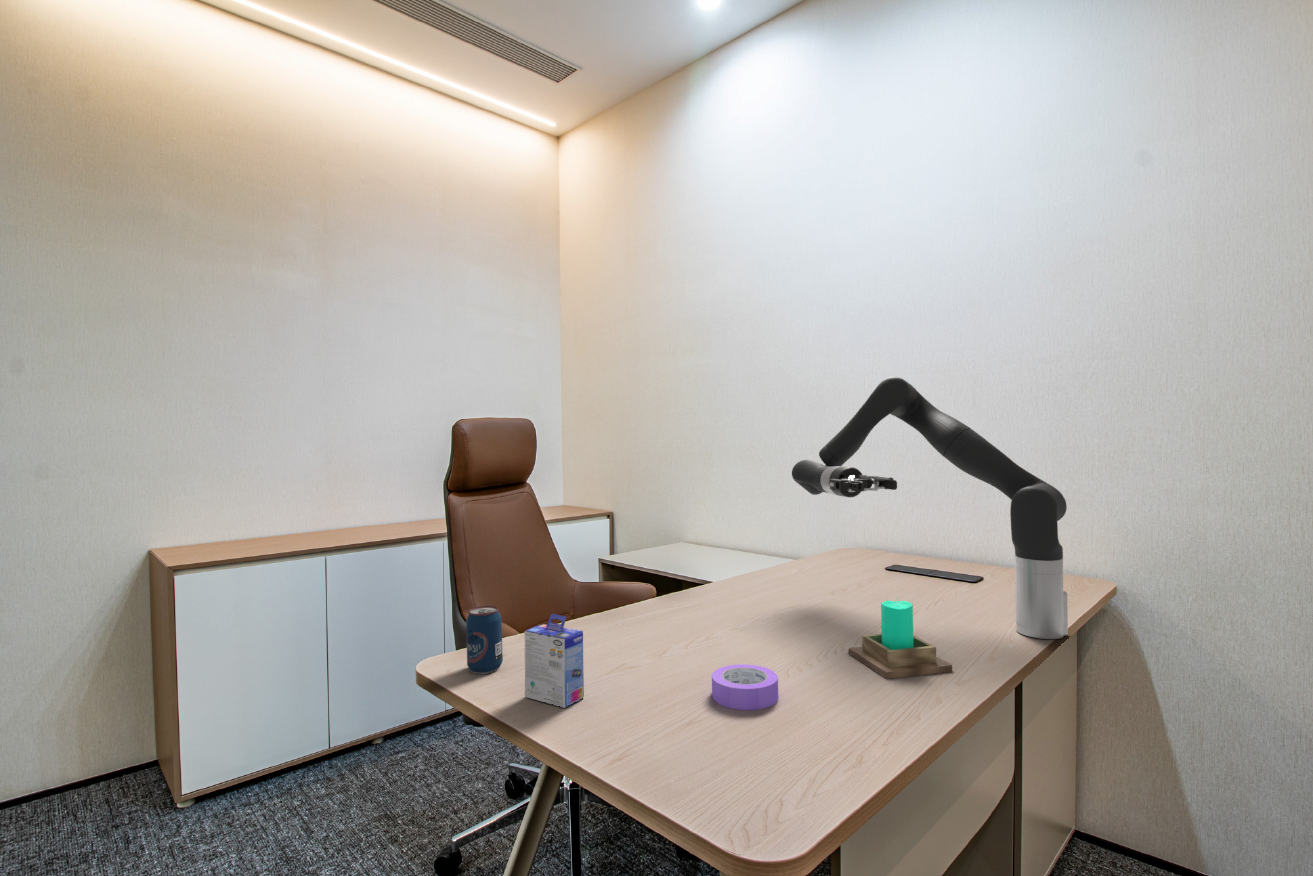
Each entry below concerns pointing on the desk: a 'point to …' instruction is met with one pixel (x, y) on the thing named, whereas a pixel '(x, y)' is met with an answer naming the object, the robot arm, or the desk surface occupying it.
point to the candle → (897, 624)
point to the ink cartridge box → (554, 663)
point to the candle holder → (899, 658)
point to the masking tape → (745, 687)
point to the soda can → (484, 639)
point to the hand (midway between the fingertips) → (879, 486)
